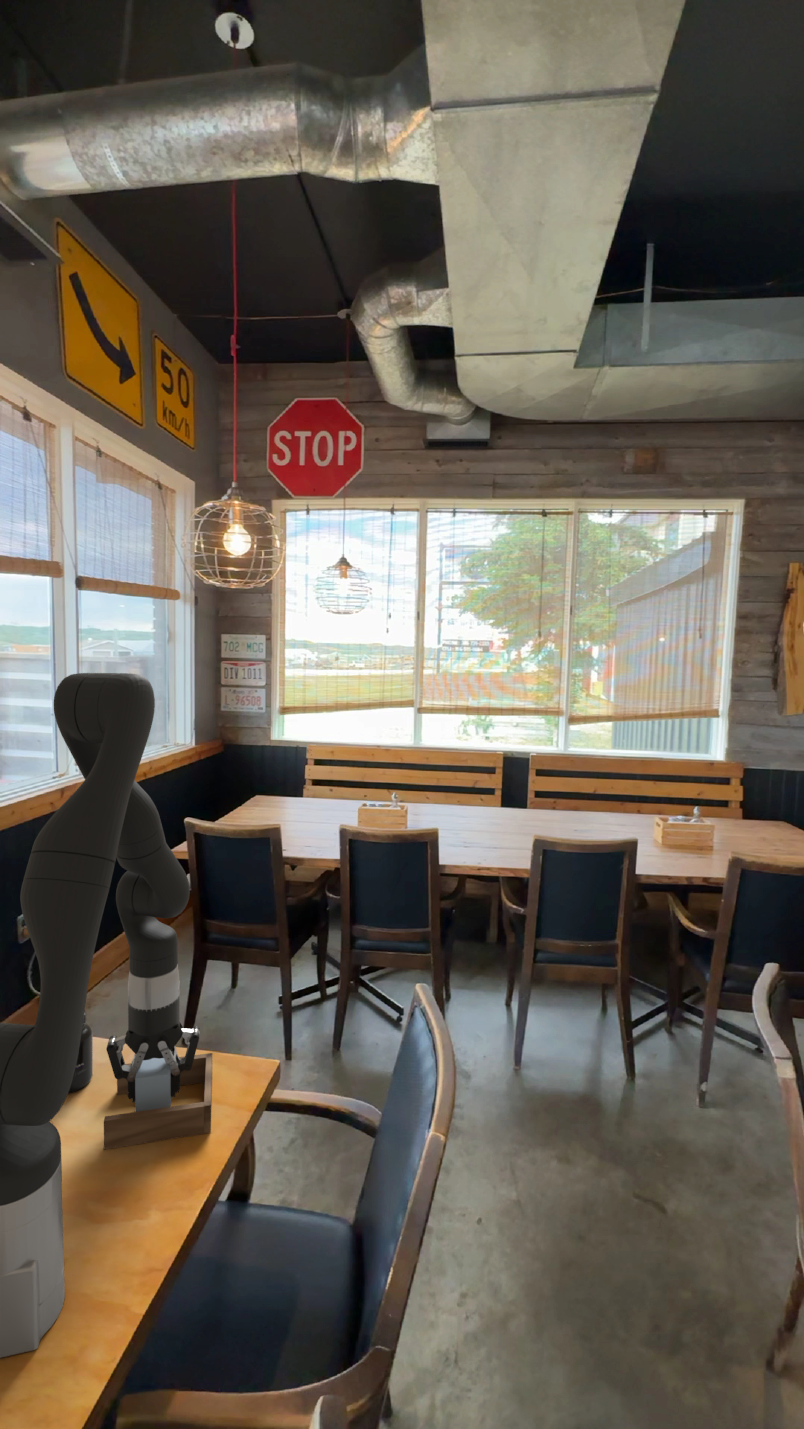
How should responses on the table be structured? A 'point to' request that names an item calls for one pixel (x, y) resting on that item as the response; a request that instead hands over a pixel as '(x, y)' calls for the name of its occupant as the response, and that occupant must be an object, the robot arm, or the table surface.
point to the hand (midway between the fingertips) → (154, 1095)
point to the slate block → (153, 1085)
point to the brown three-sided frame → (164, 1113)
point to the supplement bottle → (83, 1059)
